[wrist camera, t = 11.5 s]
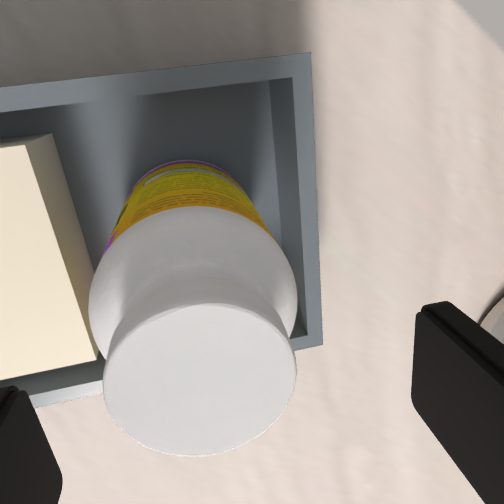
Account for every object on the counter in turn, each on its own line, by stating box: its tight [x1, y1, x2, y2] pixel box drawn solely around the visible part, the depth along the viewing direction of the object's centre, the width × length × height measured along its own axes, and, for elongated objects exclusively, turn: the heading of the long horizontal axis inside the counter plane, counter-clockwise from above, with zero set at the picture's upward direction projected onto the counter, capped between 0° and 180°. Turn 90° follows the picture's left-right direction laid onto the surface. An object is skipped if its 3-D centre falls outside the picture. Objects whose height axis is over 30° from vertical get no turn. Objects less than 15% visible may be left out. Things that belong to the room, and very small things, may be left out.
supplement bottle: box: [88, 160, 297, 457], centre depth 15 cm, size 7×7×13 cm
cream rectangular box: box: [0, 133, 99, 380], centre depth 18 cm, size 5×10×4 cm, turn 6°
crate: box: [0, 52, 323, 408], centre depth 19 cm, size 18×14×5 cm
